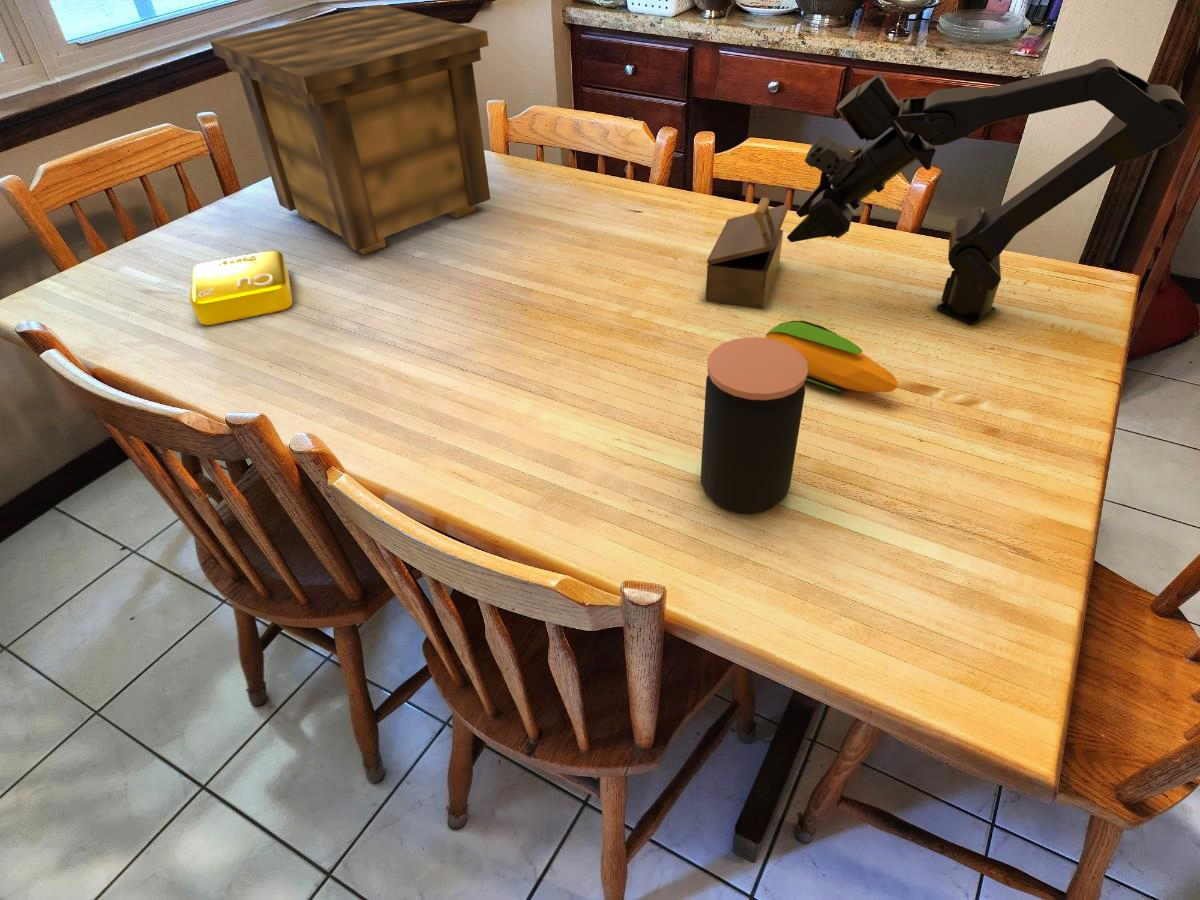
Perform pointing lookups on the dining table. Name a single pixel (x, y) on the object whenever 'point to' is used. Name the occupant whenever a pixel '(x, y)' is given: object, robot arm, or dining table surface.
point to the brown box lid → (749, 233)
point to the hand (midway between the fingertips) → (793, 226)
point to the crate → (366, 118)
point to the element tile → (240, 287)
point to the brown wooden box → (744, 278)
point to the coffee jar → (751, 422)
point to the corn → (833, 358)
